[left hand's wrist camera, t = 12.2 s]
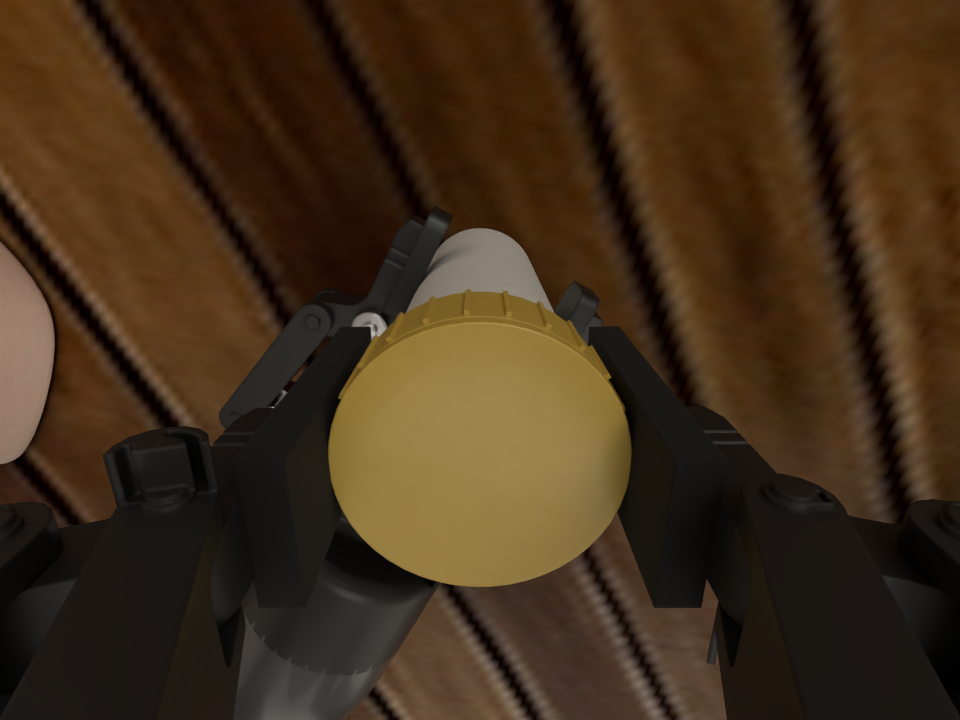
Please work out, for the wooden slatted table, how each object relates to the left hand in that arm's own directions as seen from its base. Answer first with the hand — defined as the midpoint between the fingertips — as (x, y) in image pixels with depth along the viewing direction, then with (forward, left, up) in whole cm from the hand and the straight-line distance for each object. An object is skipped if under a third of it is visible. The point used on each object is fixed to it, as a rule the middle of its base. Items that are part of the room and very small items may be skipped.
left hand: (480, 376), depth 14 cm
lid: (0, 0, +4) cm, 4 cm away
